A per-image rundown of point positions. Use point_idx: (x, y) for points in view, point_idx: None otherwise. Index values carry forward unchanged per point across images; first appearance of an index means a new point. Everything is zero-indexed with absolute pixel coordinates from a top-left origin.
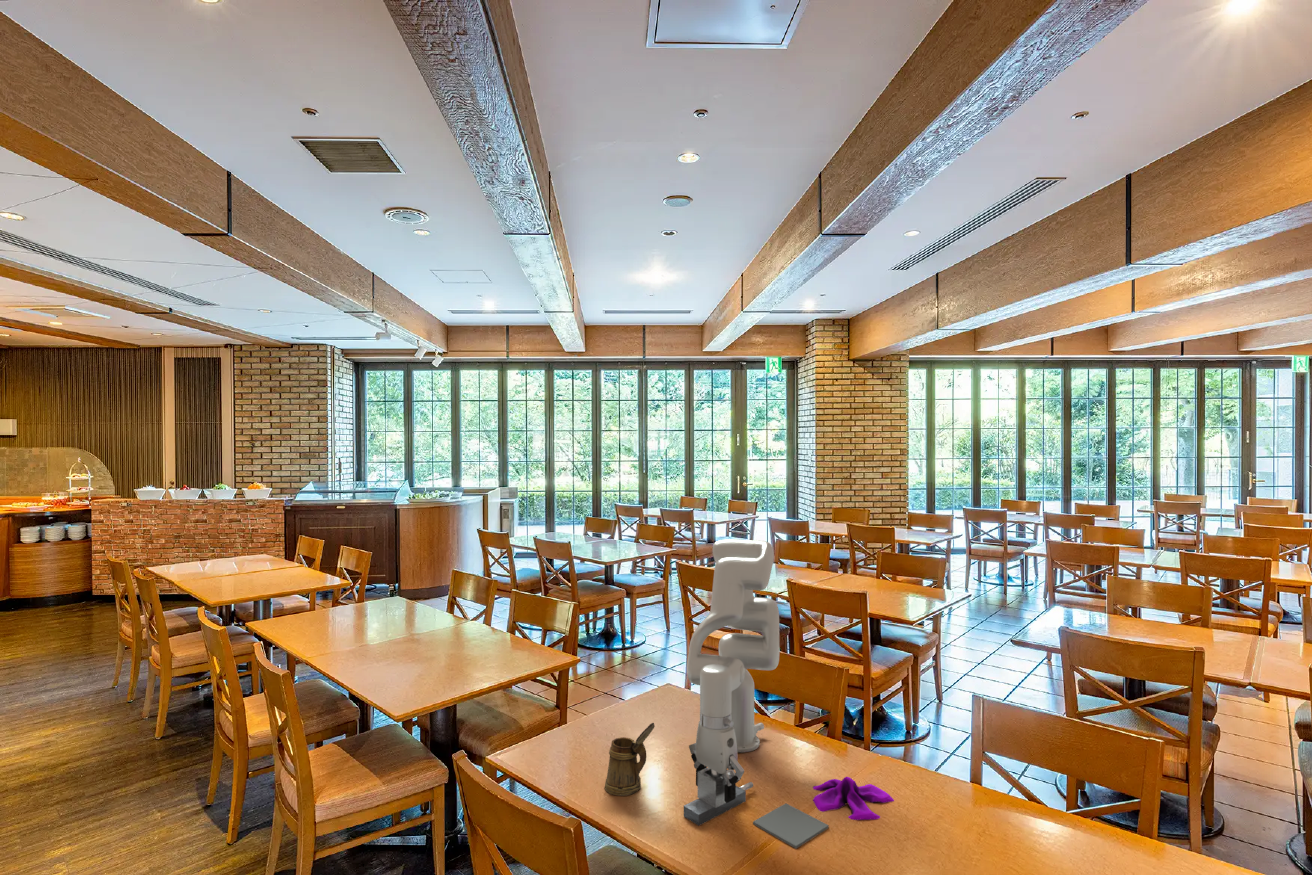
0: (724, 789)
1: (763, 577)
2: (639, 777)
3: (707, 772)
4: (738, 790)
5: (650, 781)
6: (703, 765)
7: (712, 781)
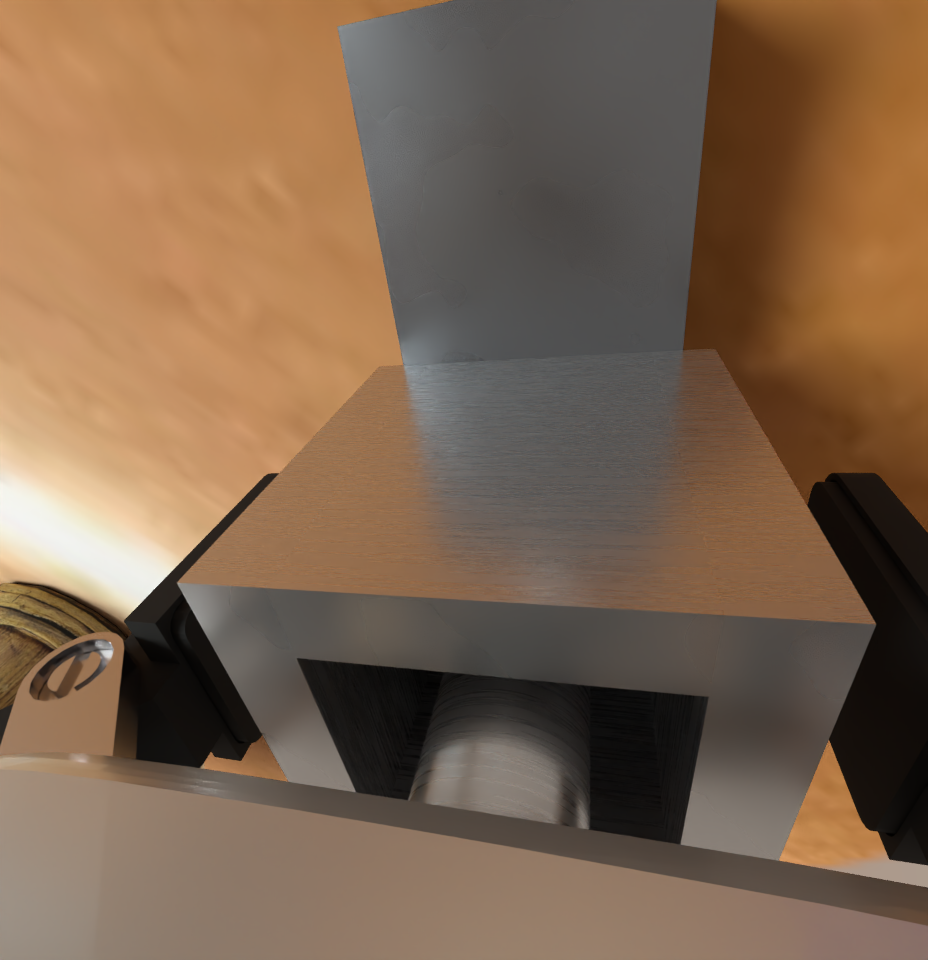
0: (839, 759)
1: None
2: (25, 633)
3: (370, 752)
4: (603, 79)
5: (28, 531)
6: (166, 705)
7: None
